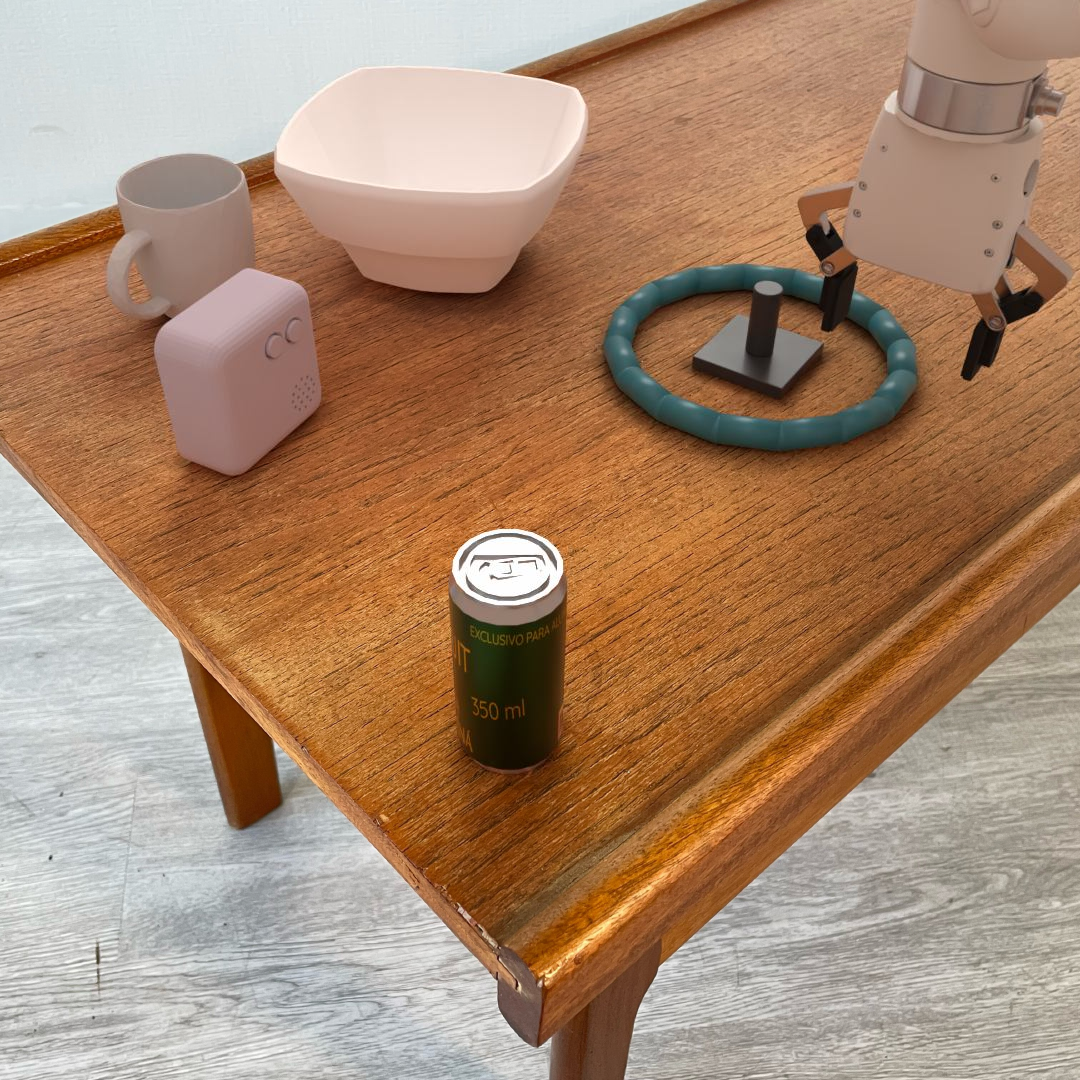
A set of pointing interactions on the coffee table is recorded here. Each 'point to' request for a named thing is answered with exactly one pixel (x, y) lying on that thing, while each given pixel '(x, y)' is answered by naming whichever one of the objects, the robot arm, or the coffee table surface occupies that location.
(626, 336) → the ring
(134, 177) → the mug
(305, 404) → the electronic device
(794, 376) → the post
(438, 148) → the bowl
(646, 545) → the coffee table surface
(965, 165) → the robot arm
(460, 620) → the beer can
